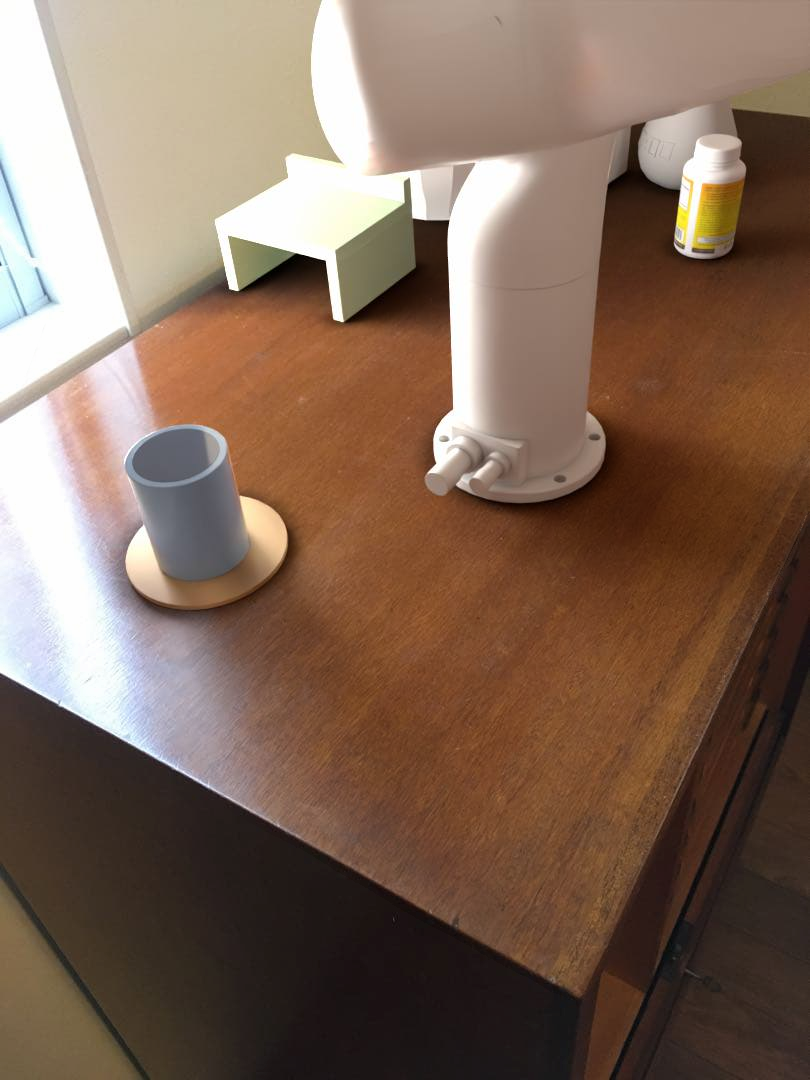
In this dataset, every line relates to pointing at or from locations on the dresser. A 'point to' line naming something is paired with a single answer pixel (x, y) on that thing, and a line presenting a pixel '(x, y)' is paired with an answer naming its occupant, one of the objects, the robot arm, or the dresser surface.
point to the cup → (188, 501)
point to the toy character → (680, 140)
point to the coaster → (224, 589)
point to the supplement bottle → (710, 198)
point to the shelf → (325, 230)
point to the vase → (437, 190)
